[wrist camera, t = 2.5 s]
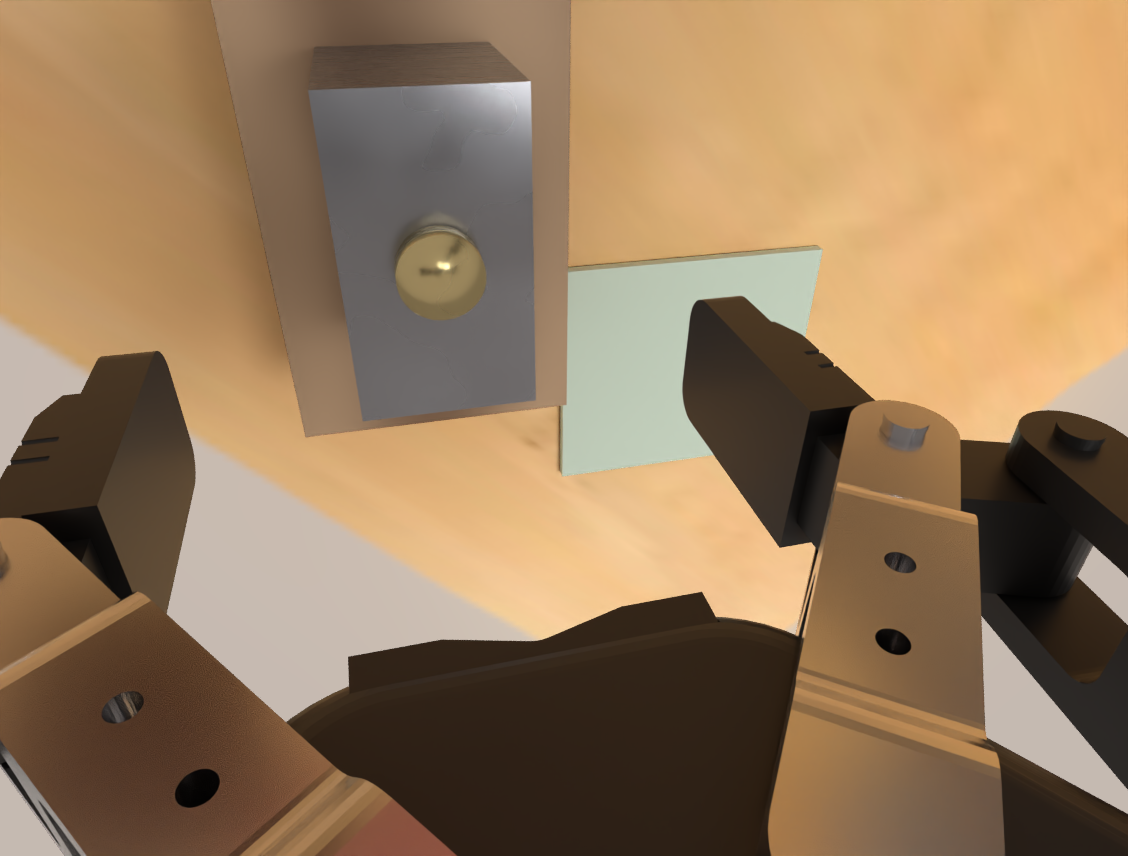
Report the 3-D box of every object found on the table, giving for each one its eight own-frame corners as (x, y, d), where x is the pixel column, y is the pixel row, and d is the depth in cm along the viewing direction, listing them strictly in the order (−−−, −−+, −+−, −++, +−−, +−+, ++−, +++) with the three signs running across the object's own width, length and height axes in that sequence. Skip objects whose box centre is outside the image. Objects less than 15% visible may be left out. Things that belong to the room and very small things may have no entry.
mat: (817, 245, 30) (822, 249, 29) (779, 439, 35) (783, 445, 34) (560, 267, 28) (563, 272, 27) (560, 470, 33) (562, 476, 32)
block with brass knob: (488, 41, 19) (537, 87, 14) (500, 310, 22) (540, 414, 18) (314, 46, 18) (306, 97, 13) (358, 324, 22) (363, 436, 17)
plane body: (534, -141, 21) (581, -150, 17) (539, 338, 29) (572, 409, 25) (200, -147, 19) (165, -159, 15) (304, 363, 27) (299, 443, 23)
